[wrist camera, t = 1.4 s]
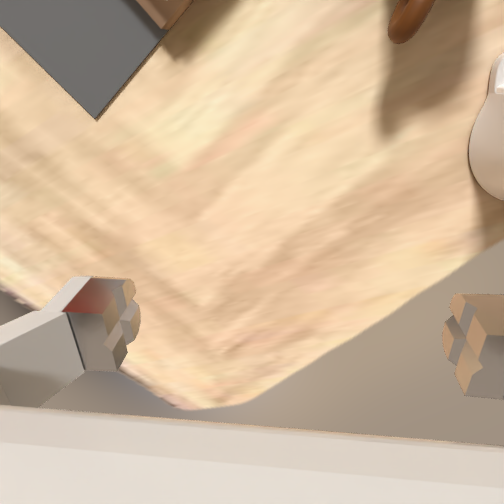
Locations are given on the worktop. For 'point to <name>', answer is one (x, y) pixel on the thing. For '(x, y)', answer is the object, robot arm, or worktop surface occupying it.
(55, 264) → the worktop surface
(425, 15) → the mug
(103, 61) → the mat
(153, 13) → the brown wooden flat board
